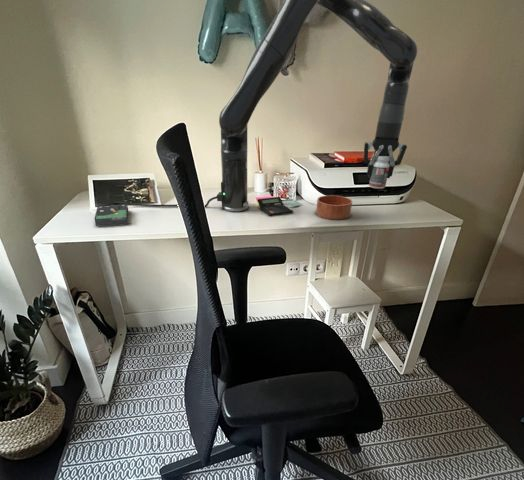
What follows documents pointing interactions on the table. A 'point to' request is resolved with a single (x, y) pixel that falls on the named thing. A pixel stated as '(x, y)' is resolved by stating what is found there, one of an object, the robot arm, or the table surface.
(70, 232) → the table surface
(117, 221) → the disk drive
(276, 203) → the calculator
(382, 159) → the pill bottle
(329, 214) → the dish
